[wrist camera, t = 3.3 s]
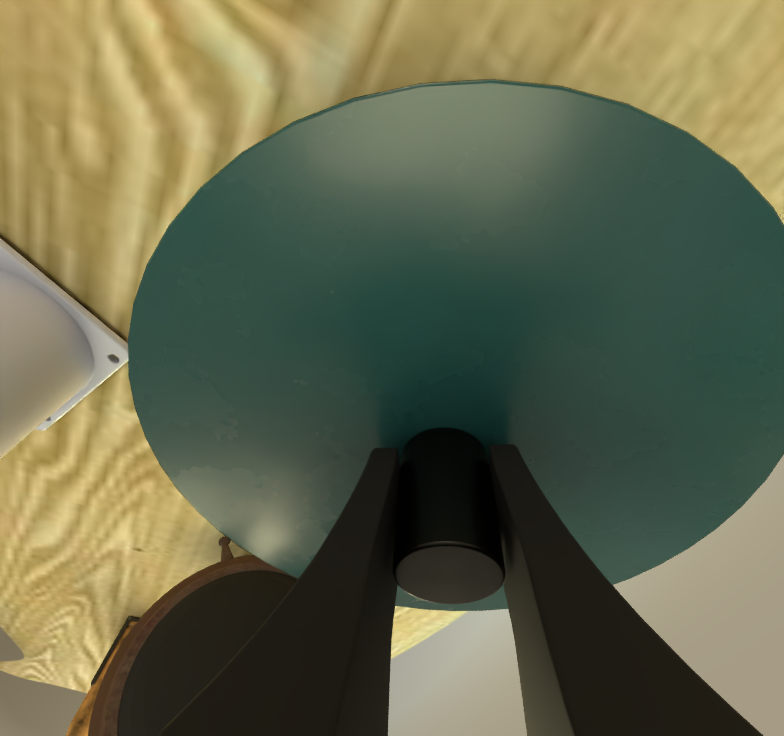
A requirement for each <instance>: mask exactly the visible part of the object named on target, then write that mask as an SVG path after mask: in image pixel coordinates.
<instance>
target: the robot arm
mask: <svg viewBox="0 0 784 736" xmlns="http://www.w3.org/2000/svg"><path fill="white" fill-rule="evenodd" d="M115 355H116V356H117V357H118V358H117V357H116V356H115ZM127 361H128V343H126V342H125V341H124V340H123V339H121V338H120V337H119V336H118V335H117V334H115V333H114V332H113V331H112V330H111V329H109V328H108V327H107V326H106V325H105V324H103V323H102V322H101V321H100V320H99V319H97V318H96V317H95V316H94V315H93V314H91V313H90V312H89V311H88V310H86V309H85V308H84V307H83V306H82V305H80V304H79V303H78V302H77V301H76V300H74V299H73V298H72V297H71V296H70V295H68V294H67V293H66V292H65V291H64V290H62V289H61V288H60V287H59V286H58V285H56V284H55V283H54V282H53V281H51V280H50V279H49V278H48V277H47V276H45V275H44V274H43V273H42V272H41V271H39V270H38V269H37V268H36V267H35V266H33V265H32V264H31V263H30V262H29V261H27V260H26V259H25V258H24V257H22V256H21V255H20V254H19V253H18V252H16V251H15V250H14V249H13V248H12V247H10V246H9V245H8V244H7V243H6V242H4V241H3V240H2V239H1V238H0V459H1V458H2V457H3V456H5V455H6V454H7V453H8V452H9V451H10V450H11V449H13V448H14V447H15V446H16V445H17V444H18V443H20V442H21V441H22V440H23V439H24V438H25V437H27V436H28V435H29V434H30V433H31V432H32V431H34V430H35V429H37V430H46V429H48V428H49V427H50V426H51V425H52V424H54V423H55V422H56V421H57V420H58V419H60V418H61V417H62V416H63V415H64V414H65V413H67V412H68V411H69V410H70V409H71V408H73V407H74V406H75V405H76V404H77V403H79V402H80V401H81V400H82V399H83V398H85V397H86V396H87V395H88V394H89V393H91V392H92V391H93V390H94V389H95V388H96V387H98V386H99V385H100V384H101V383H102V382H104V381H105V380H106V379H107V378H108V377H110V376H111V375H112V374H113V373H114V372H116V371H117V370H118V369H119V368H120V367H122V366H123V365H124V364H125V363H126V362H127ZM489 470H490V476H491V483H492V489H493V495H494V501H495V506H496V513H497V519H498V525H499V531H500V538H501V544H502V550H503V557H504V563H505V569H506V576H505V580H504V583H503V586H504V591H505V595H506V600H507V604H508V609H509V613H510V618H511V622H512V628H513V633H514V639H515V645H516V652H517V660H518V668H519V675H520V682H521V689H522V697H523V706H524V713H525V721H526V729H527V736H763V735H762V734H761V733H760V732H759V731H757V729H755V728H754V727H753V726H752V725H751V724H750V723H749V722H748V721H747V720H746V719H744V718H743V717H742V716H741V715H740V714H739V713H738V712H737V711H736V710H735V709H733V708H732V707H731V706H730V705H729V704H728V703H727V702H726V701H725V700H724V699H723V698H722V697H721V696H720V695H719V694H717V693H716V692H715V691H714V690H713V689H712V688H711V687H710V686H709V685H708V684H707V683H706V682H705V681H704V680H703V679H701V677H700V676H699V675H697V674H696V673H695V672H694V671H693V670H692V669H691V668H690V667H689V666H688V665H687V664H686V663H685V662H684V661H683V660H682V659H681V658H680V657H679V656H678V655H677V654H676V653H675V652H674V651H673V650H672V649H671V647H670V646H669V645H668V644H667V643H666V642H665V641H664V640H663V639H662V638H660V636H659V635H658V634H657V633H656V632H655V631H654V630H653V629H652V628H651V627H650V626H649V625H648V624H647V623H646V622H645V621H644V620H643V619H642V618H641V617H640V616H639V615H638V613H636V611H635V610H634V609H633V608H632V607H631V606H630V605H629V603H628V602H627V601H626V600H625V599H624V598H623V597H622V596H621V595H620V593H619V592H618V591H617V590H616V589H615V588H614V586H613V585H612V584H611V583H610V582H609V581H608V579H607V578H606V577H605V576H604V575H603V574H602V572H601V571H600V570H599V569H598V568H597V566H596V565H595V564H594V563H593V561H592V560H591V559H590V558H589V556H588V555H587V554H586V553H585V551H584V550H583V549H582V547H581V546H580V545H579V543H578V542H577V541H576V539H575V538H574V537H573V536H572V534H571V533H570V531H569V530H568V529H567V527H566V526H565V525H564V523H563V522H562V520H561V519H560V517H559V516H558V514H557V513H556V512H555V510H554V509H553V507H552V506H551V504H550V503H549V501H548V500H547V498H546V497H545V495H544V494H543V492H542V490H541V489H540V487H539V486H538V484H537V482H536V481H535V479H534V477H533V476H532V474H531V472H530V471H529V469H528V467H527V465H526V463H525V462H524V460H523V458H522V456H521V454H520V452H519V450H518V448H517V447H516V446H515V445H514V444H506V445H489ZM399 479H400V462H399V455H398V448H397V447H396V448H375V449H374V450H372V451H371V454H370V456H369V459H368V461H367V464H366V466H365V468H364V470H363V473H362V475H361V477H360V479H359V481H358V483H357V485H356V487H355V489H354V491H353V493H352V495H351V496H350V498H349V500H348V502H347V504H346V505H345V507H344V509H343V511H342V513H341V515H340V516H339V518H338V520H337V521H336V523H335V525H334V526H333V528H332V529H331V531H330V533H329V534H328V536H327V538H326V539H325V541H324V542H323V544H322V546H321V547H320V549H319V550H318V552H317V553H316V555H315V556H314V558H313V559H312V561H311V562H310V563H309V565H308V566H307V568H306V569H305V571H304V572H303V573H302V575H301V576H300V577H299V579H298V580H297V582H296V583H295V584H294V586H293V587H292V588H291V590H290V591H289V592H288V593H287V595H286V596H285V597H284V598H283V600H282V601H281V602H280V603H279V605H278V606H277V607H276V609H275V610H274V611H273V612H272V614H271V615H270V616H269V617H268V618H267V620H266V621H265V622H264V623H263V624H262V626H261V627H260V628H259V629H258V630H257V631H256V632H255V634H254V635H253V636H252V637H251V638H250V639H249V640H248V641H247V643H246V644H245V645H244V646H243V647H242V648H241V649H240V650H239V651H238V653H237V654H236V655H235V656H234V657H233V658H232V659H231V660H230V661H229V663H228V664H227V665H226V666H225V667H224V668H223V669H222V670H221V671H220V672H219V673H218V674H217V675H216V676H215V678H214V679H213V680H212V681H211V682H210V683H209V684H208V685H207V686H206V687H205V688H204V689H203V690H202V691H201V692H200V693H199V694H198V695H197V696H196V697H195V698H194V699H193V700H192V701H191V702H190V703H189V704H188V705H187V706H186V707H185V708H184V709H183V710H182V711H181V712H180V713H179V714H178V715H176V716H175V717H174V718H173V719H172V720H171V721H170V722H169V723H168V724H167V725H166V726H165V727H164V729H163V730H162V731H161V733H160V735H159V736H388V710H389V708H388V707H389V682H390V660H391V638H392V627H393V617H394V609H395V602H396V594H397V586H398V584H397V582H396V581H395V578H394V575H393V570H392V568H393V555H394V542H395V529H396V516H397V504H398V492H399Z"/></svg>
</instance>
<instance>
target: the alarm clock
mask: <svg viewBox="0 0 784 736" xmlns="http://www.w3.org/2000/svg"><path fill="white" fill-rule="evenodd" d="M229 543H230V539H229V538H228V537H222V538H221V539H220V540H219V545H220V546H222V553H221V562H219V563H216V564H214V565H211V566H209V567H207V568H205V569H203V570H201V571H198V572H196V573H195V574H193V575H191V576H190V577H188V578H186V579H185V580H183V581H182V582H180V583H179V584H177V585H176V586H174V587H173V588H172V589H171V590H169V591H168V592H167V593H166V594H164V595H163V596H162V597H161V598H160V599H159V600H158V601H157V602H155V603H154V604H153V605H152V606H151V607H150V608H149V609H148V610H147V612H146V613H145V614H144V615H143V616H142V617H141V618H140V619H139V621H138V622H137V623H136V624H135V625H134V627H133V628H132V629H131V631H130V632H129V633H128V635H127V636H126V638H125V639H124V640H123V642H122V644H121V645H120V647H119V649H118V650H117V652H116V653H115V655H114V657H113V659H112V661H111V663H110V665H109V667H108V669H107V671H106V673H105V675H104V678H103V680H102V682H101V685H100V687H99V690H98V693H97V696H96V699H95V702H94V706H93V710H92V714H91V718H90V724H89V730H88V736H159V735H160V733H161V731H162V730H163V729H164V727H165V726H166V725H167V724H168V723H169V722H170V721H171V720H172V719H173V718H174V717H175V716H176V715H178V714H179V713H180V712H181V711H182V710H183V709H184V708H185V707H186V706H187V705H188V704H189V703H190V702H191V701H192V700H193V699H194V698H195V697H196V696H197V695H198V694H199V693H200V692H201V691H202V690H203V689H204V688H205V687H206V686H207V685H208V684H209V683H210V682H211V681H212V680H213V679H214V678H215V676H216V675H217V674H218V673H219V672H220V671H221V670H222V669H223V668H224V667H225V666H226V665H227V664H228V663H229V661H230V660H231V659H232V658H233V657H234V656H235V655H236V654H237V653H238V651H239V650H240V649H241V648H242V647H243V646H244V645H245V644H246V643H247V641H248V640H249V639H250V638H251V637H252V636H253V635H254V634H255V632H256V631H257V630H258V629H259V628H260V627H261V626H262V624H263V623H264V622H265V621H266V620H267V618H268V617H269V616H270V615H271V614H272V612H273V611H274V610H275V609H276V607H277V606H278V605H279V603H280V602H281V601H282V600H283V598H284V597H285V596H286V595H287V593H288V592H289V591H290V590H291V588H292V587H293V586H294V584H295V583H296V582H297V580H298V579H299V578H297V577H295V576H292V575H290V574H288V573H286V572H284V571H282V570H280V569H278V568H276V567H274V566H272V565H270V564H268V563H266V562H264V561H263V560H261V559H259V558H258V557H256V556H255V555H250V556H243V557H237V558H233V555H232V553H231V550H230V548H229V545H228V544H229Z"/></svg>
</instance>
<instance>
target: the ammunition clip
mask: <svg viewBox="0 0 784 736" xmlns="http://www.w3.org/2000/svg"><path fill="white" fill-rule="evenodd" d="M138 621H139V619H138V618H135V617H131V616H128V618H127V620H126V622H125V623H124V625H123V627H122V629H121V630H120V632H119V634H118V636H117V637H116V639H115V641H114V643H113V645H112V646H111V648H110V650H109V652H108V653H107V655H106V657H105V659H104V660H103V662H102V664H101V666H100V668H99V669H98V671H97V673H96V675H95V676H94V678H93V680H92V682H91V688H90V690H89V692H88V694H87V696H86V697H85V699H84V701H83V702H82V704H81V706H80V708H79V710H78V711H77V713H76V715H75V717H74V719H73V720H72V722H71V724H70V726H69V729H68V731H67V734H66V736H88V730H89V724H90V718H91V714H92V710H93V706H94V702H95V699H96V696H97V693H98V690H99V687H100V685H101V682H102V680H103V678H104V675H105V673H106V671H107V669H108V667H109V665H110V663H111V661H112V659H113V657H114V655H115V653H116V652H117V650H118V649H119V647H120V645H121V644H122V642H123V640H124V639H125V638H126V636H127V635H128V633H129V632H130V631H131V629H132V628H133V627H134V625H135V624H136V623H137V622H138Z"/></svg>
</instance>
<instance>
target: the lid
mask: <svg viewBox="0 0 784 736" xmlns="http://www.w3.org/2000/svg"><path fill="white" fill-rule="evenodd" d="M128 367H129V380H130V385H131V390H132V395H133V400H134V405H135V409H136V412H137V415H138V418H139V420H140V423H141V426H142V429H143V432H144V434H145V437H146V439H147V441H148V443H149V445H150V447H151V449H152V451H153V452H154V454H155V456H156V458H157V460H158V462H159V464H160V465H161V467H162V468H163V470H164V471H165V473H166V474H167V475H168V477H169V478H170V480H171V481H172V482H173V484H174V485H175V487H176V488H177V489H178V491H179V492H180V493H181V494H182V495H183V496H184V497H185V498H186V499H187V501H188V502H189V503H190V504H191V505H192V506H193V507H194V508H195V510H196V511H197V512H199V513H200V514H201V515H202V516H203V517H204V518H205V519H206V520H207V521H208V522H210V523H211V524H212V525H213V526H214V527H215V528H216V529H217V530H219V531H220V532H221V533H223V534H224V535H225V536H227V537H228V538H229V539H231V540H232V541H233V542H235V543H236V544H237V545H239V546H240V547H242V548H243V549H245V550H246V551H248V552H250V553H251V554H253V555H255V556H256V557H258V558H259V559H261V560H263V561H264V562H266V563H268V564H270V565H272V566H274V567H276V568H278V569H280V570H282V571H284V572H286V573H288V574H290V575H292V576H295V577H297V578H299V577H300V576H301V575H302V573H303V572H304V571H305V569H306V568H307V566H308V565H309V563H310V562H311V561H312V559H313V558H314V556H315V555H316V553H317V552H318V550H319V549H320V547H321V546H322V544H323V542H324V541H325V539H326V538H327V536H328V534H329V533H330V531H331V529H332V528H333V526H334V525H335V523H336V521H337V520H338V518H339V516H340V515H341V513H342V511H343V509H344V507H345V505H346V504H347V502H348V500H349V498H350V496H351V495H352V493H353V491H354V489H355V487H356V485H357V483H358V481H359V479H360V477H361V475H362V473H363V470H364V468H365V466H366V464H367V461H368V459H369V456H370V454H371V451H372V450H374V449H375V448H396V447H397V448H398V455H399V462H400V479H399V492H398V504H397V516H396V529H395V542H394V555H393V568H392V570H393V575H394V578H395V581H396V582H397V584H398V586H397V594H396V602H395V606H401V607H410V608H418V609H428V610H446V611H478V610H479V611H482V610H497V609H508V604H507V600H506V595H505V591H504V586H503V583H504V580H505V576H506V569H505V563H504V557H503V550H502V544H501V538H500V531H499V525H498V519H497V513H496V506H495V501H494V495H493V489H492V483H491V476H490V470H489V445H506V444H514V445H515V446H516V447H517V448H518V450H519V452H520V454H521V456H522V458H523V460H524V462H525V463H526V465H527V467H528V469H529V471H530V472H531V474H532V476H533V477H534V479H535V481H536V482H537V484H538V486H539V487H540V489H541V490H542V492H543V494H544V495H545V497H546V498H547V500H548V501H549V503H550V504H551V506H552V507H553V509H554V510H555V512H556V513H557V514H558V516H559V517H560V519H561V520H562V522H563V523H564V525H565V526H566V527H567V529H568V530H569V531H570V533H571V534H572V536H573V537H574V538H575V539H576V541H577V542H578V543H579V545H580V546H581V547H582V549H583V550H584V551H585V553H586V554H587V555H588V556H589V558H590V559H591V560H592V561H593V563H594V564H595V565H596V566H597V568H598V569H599V570H600V571H601V572H602V574H603V575H604V576H605V577H606V578H607V579H608V581H609V582H610V583H611V584H612V585H614V584H616V583H619V582H622V581H625V580H627V579H630V578H632V577H634V576H636V575H639V574H641V573H643V572H645V571H647V570H649V569H652V568H654V567H656V566H658V565H660V564H662V563H664V562H665V561H667V560H669V559H670V558H672V557H674V556H676V555H678V554H679V553H681V552H683V551H685V550H686V549H688V548H690V547H691V546H692V545H694V544H695V543H697V542H698V541H700V540H701V539H702V538H704V537H705V536H707V535H708V534H710V533H711V532H712V531H714V530H715V529H716V528H718V527H719V526H720V525H721V524H722V523H723V522H725V521H726V520H727V519H728V518H729V517H730V516H731V515H733V514H734V513H735V512H736V511H737V510H738V509H739V508H741V507H742V506H743V505H744V504H745V502H746V501H747V500H748V499H749V498H750V497H751V496H752V495H753V494H754V493H755V491H756V490H757V489H758V488H759V487H760V486H761V485H762V484H763V483H764V482H765V480H766V479H767V478H768V476H769V475H770V473H771V472H772V471H773V469H774V468H775V466H776V465H777V463H778V462H779V460H780V459H781V458H782V456H783V455H784V224H783V223H782V221H781V219H780V218H779V216H778V214H777V213H776V211H775V209H774V208H773V206H772V205H771V204H770V203H769V202H768V201H767V200H766V199H765V198H764V197H763V196H762V194H761V193H760V192H759V191H758V190H757V189H756V188H755V187H754V186H753V185H752V184H751V183H750V182H749V180H748V179H747V178H746V177H745V176H744V175H743V174H742V173H741V172H740V171H739V170H738V169H737V167H735V166H734V165H733V164H731V163H730V162H729V161H727V160H726V159H724V158H723V157H722V156H720V155H719V154H717V153H716V152H715V151H713V150H712V149H710V148H709V147H708V146H706V145H705V144H704V143H702V142H701V141H699V140H698V139H697V138H695V137H694V136H692V135H691V134H690V133H688V132H687V131H685V130H683V129H680V128H678V127H676V126H674V125H672V124H670V123H668V122H665V121H663V120H661V119H659V118H657V117H655V116H653V115H651V114H648V113H646V112H644V111H642V110H640V109H638V108H636V107H633V106H631V105H629V104H626V103H623V102H619V101H615V100H612V99H608V98H604V97H600V96H597V95H593V94H589V93H586V92H582V91H578V90H575V89H571V88H567V87H564V86H557V85H547V84H537V83H527V82H517V81H507V80H496V79H483V80H466V81H449V82H432V83H419V84H415V85H410V86H406V87H401V88H397V89H392V90H388V91H383V92H378V93H374V94H369V95H365V96H360V97H356V98H352V99H350V100H347V101H345V102H342V103H340V104H337V105H335V106H332V107H329V108H327V109H324V110H322V111H319V112H317V113H314V114H312V115H309V116H307V117H304V118H301V119H299V120H296V121H294V122H292V123H290V124H289V125H287V126H285V127H284V128H282V129H280V130H279V131H277V132H275V133H274V134H272V135H270V136H268V137H267V138H265V139H263V140H262V141H260V142H258V143H257V144H255V145H253V146H252V147H250V148H248V149H247V150H245V151H243V152H242V153H241V154H239V155H238V156H237V157H236V158H235V159H233V160H232V161H231V162H230V163H229V164H228V165H226V166H225V167H224V168H223V169H222V170H220V171H219V172H218V173H217V174H216V175H215V176H213V177H212V178H211V179H210V180H209V181H208V182H206V183H205V184H204V185H203V186H202V187H200V189H199V190H198V191H197V192H196V193H195V195H194V196H193V197H192V198H191V199H190V201H189V202H188V203H187V204H186V206H185V207H184V208H183V209H182V210H181V212H180V213H179V214H178V215H177V216H176V218H175V219H174V220H173V221H172V222H171V224H170V225H169V226H168V228H167V230H166V232H165V233H164V235H163V237H162V239H161V240H160V242H159V244H158V246H157V247H156V249H155V251H154V253H153V255H152V256H151V258H150V260H149V262H148V263H147V266H146V269H145V272H144V274H143V277H142V280H141V283H140V286H139V289H138V292H137V295H136V298H135V301H134V304H133V310H132V317H131V323H130V330H129V337H128Z"/></svg>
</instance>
